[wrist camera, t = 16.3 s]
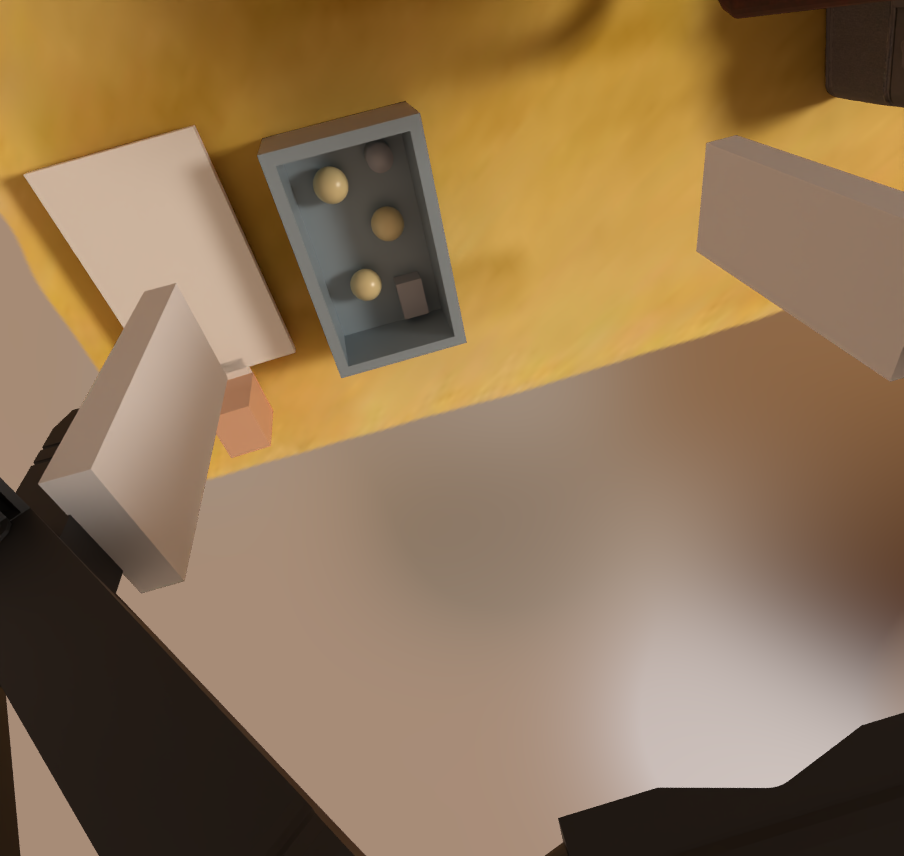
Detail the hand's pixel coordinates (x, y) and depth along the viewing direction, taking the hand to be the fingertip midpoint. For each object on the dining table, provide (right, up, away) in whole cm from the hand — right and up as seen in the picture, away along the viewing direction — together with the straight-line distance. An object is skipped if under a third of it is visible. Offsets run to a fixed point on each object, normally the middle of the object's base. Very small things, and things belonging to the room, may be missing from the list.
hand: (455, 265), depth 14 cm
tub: (-7, +11, +29) cm, 32 cm away
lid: (-20, +6, +29) cm, 36 cm away
